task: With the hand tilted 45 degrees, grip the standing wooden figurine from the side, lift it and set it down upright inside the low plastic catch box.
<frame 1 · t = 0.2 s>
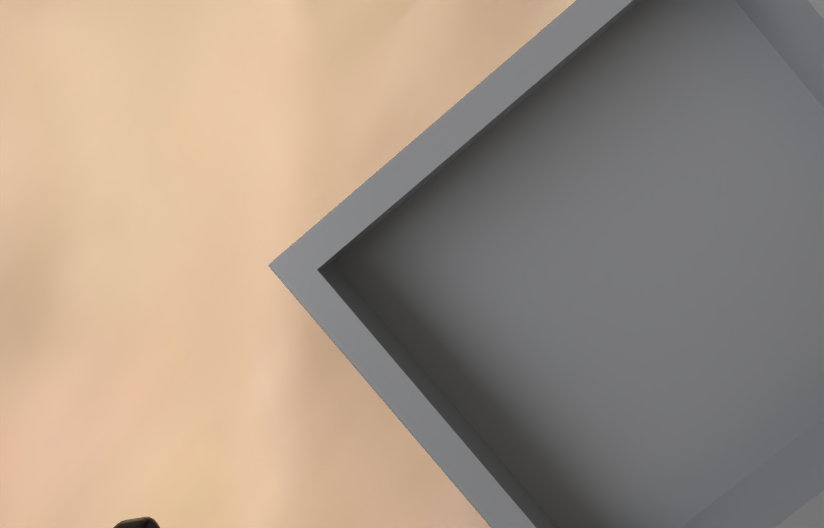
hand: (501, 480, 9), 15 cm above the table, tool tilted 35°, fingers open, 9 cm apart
catch box: (645, 277, 23), on the table
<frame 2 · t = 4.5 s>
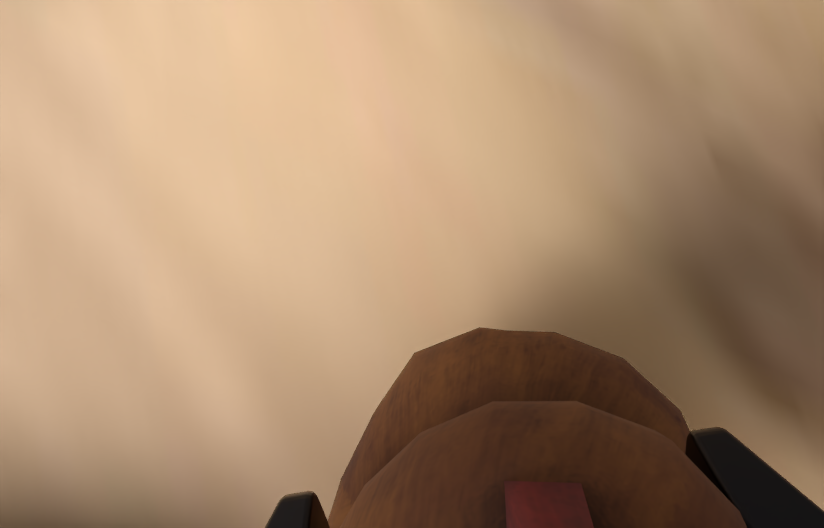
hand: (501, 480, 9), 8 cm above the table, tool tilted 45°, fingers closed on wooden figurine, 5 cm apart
wooden figurine: (496, 488, 17), on the table, touching gripper
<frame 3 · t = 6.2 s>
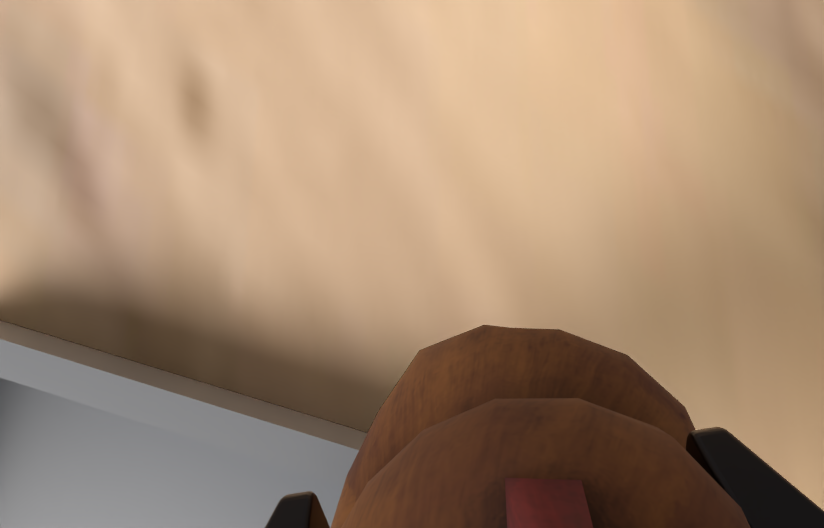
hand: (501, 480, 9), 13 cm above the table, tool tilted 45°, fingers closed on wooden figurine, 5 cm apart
wooden figurine: (502, 485, 17), point 5 cm above the table, touching gripper
when the fingers open (9 cm above the table, at t = 8.2 s): wooden figurine drops 1 cm, resting on catch box.
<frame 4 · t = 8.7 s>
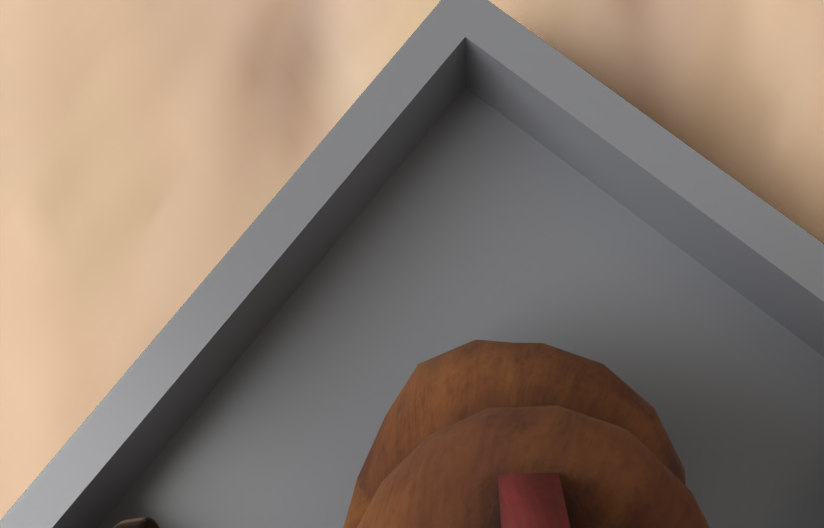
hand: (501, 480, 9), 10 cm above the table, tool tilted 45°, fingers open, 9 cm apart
catch box: (493, 476, 18), on the table
wooden figurine: (496, 484, 18), resting on catch box
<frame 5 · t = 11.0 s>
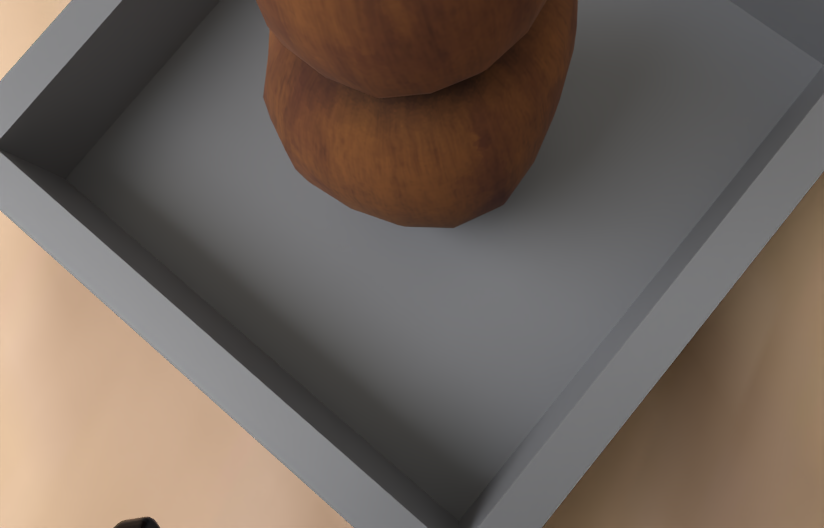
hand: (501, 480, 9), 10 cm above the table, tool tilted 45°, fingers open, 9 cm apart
catch box: (433, 129, 20), on the table
wooden figurine: (434, 131, 19), resting on catch box
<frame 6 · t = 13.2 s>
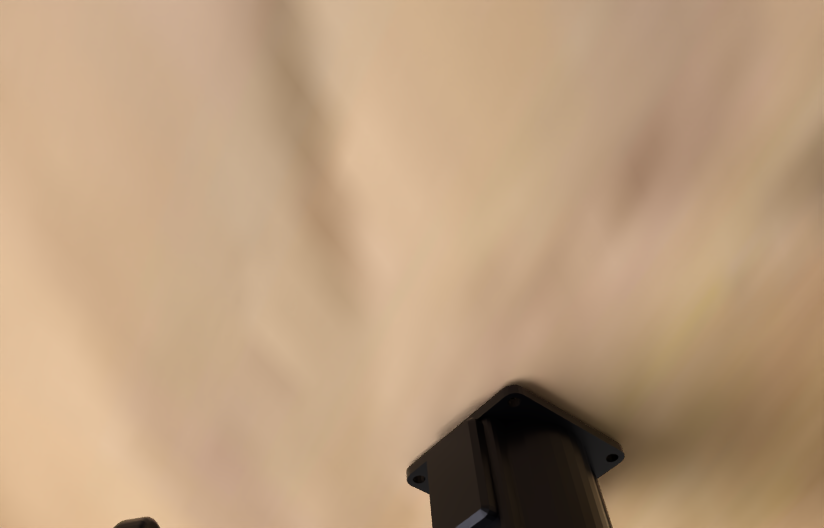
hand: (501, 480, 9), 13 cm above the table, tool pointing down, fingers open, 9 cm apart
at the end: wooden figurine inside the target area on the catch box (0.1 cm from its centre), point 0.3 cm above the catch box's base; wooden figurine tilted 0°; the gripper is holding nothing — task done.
